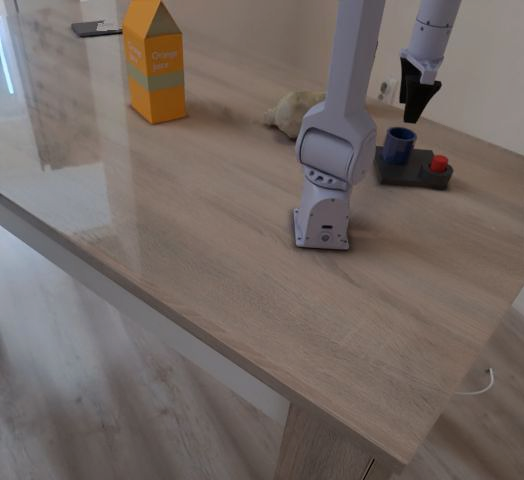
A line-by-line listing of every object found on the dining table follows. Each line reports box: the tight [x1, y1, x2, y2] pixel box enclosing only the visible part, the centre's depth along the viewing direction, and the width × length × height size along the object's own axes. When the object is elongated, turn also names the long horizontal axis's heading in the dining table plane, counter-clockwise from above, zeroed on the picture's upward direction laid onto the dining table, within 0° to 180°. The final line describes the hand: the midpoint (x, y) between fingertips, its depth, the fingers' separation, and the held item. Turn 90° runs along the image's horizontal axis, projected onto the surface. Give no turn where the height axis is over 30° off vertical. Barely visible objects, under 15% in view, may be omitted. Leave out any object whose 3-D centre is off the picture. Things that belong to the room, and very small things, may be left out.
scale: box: [372, 145, 455, 190], centre depth 88 cm, size 13×13×3 cm
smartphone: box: [70, 19, 123, 37], centre depth 123 cm, size 8×1×15 cm
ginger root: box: [263, 90, 327, 139], centre depth 93 cm, size 15×7×15 cm
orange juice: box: [122, 0, 187, 125], centre depth 89 cm, size 8×9×20 cm
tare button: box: [430, 154, 450, 172], centre depth 84 cm, size 3×3×2 cm
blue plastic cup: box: [381, 126, 418, 165], centre depth 88 cm, size 5×5×4 cm
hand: (407, 112), depth 83 cm, fingers open, 7 cm apart
